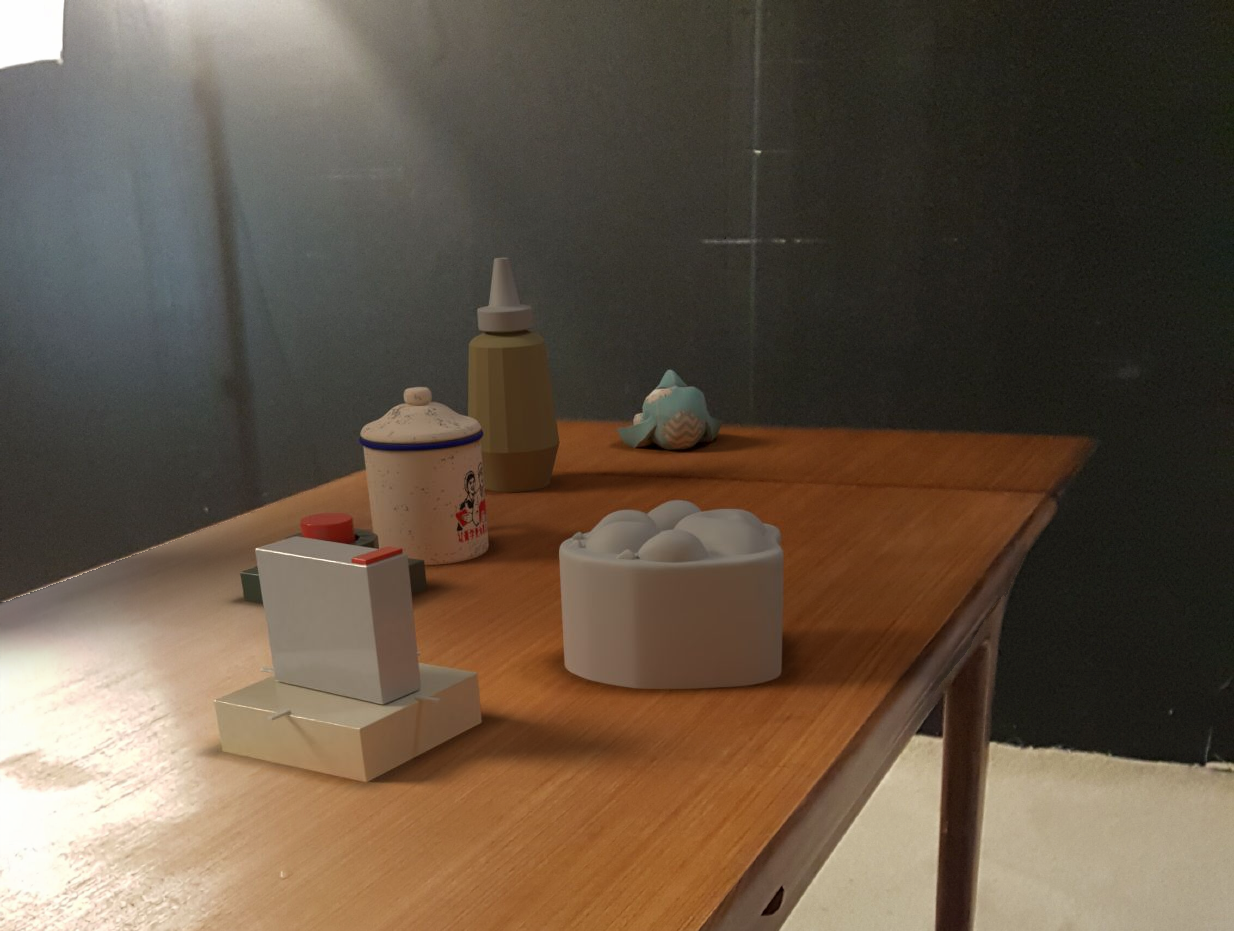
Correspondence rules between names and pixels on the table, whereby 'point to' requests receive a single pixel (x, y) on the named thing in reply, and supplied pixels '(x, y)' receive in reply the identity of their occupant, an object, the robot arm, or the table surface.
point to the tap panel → (347, 723)
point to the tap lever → (340, 618)
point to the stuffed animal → (672, 418)
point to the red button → (329, 527)
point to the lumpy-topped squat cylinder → (674, 599)
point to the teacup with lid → (426, 480)
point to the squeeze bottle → (511, 392)
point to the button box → (362, 539)
